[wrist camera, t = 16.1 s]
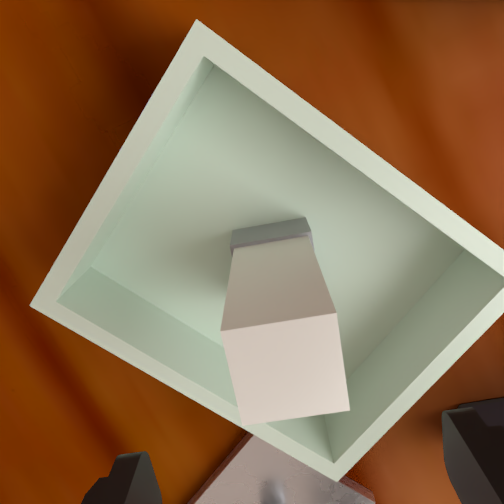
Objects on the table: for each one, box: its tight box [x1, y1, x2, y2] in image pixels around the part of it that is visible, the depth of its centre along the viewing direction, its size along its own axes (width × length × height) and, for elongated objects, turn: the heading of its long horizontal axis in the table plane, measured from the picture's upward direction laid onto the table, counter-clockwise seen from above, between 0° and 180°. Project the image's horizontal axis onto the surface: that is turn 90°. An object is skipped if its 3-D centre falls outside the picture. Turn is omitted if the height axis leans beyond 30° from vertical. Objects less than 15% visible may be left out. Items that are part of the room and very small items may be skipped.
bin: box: [30, 19, 504, 482], centre depth 25 cm, size 20×16×6 cm
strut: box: [220, 217, 350, 426], centre depth 21 cm, size 4×4×12 cm
